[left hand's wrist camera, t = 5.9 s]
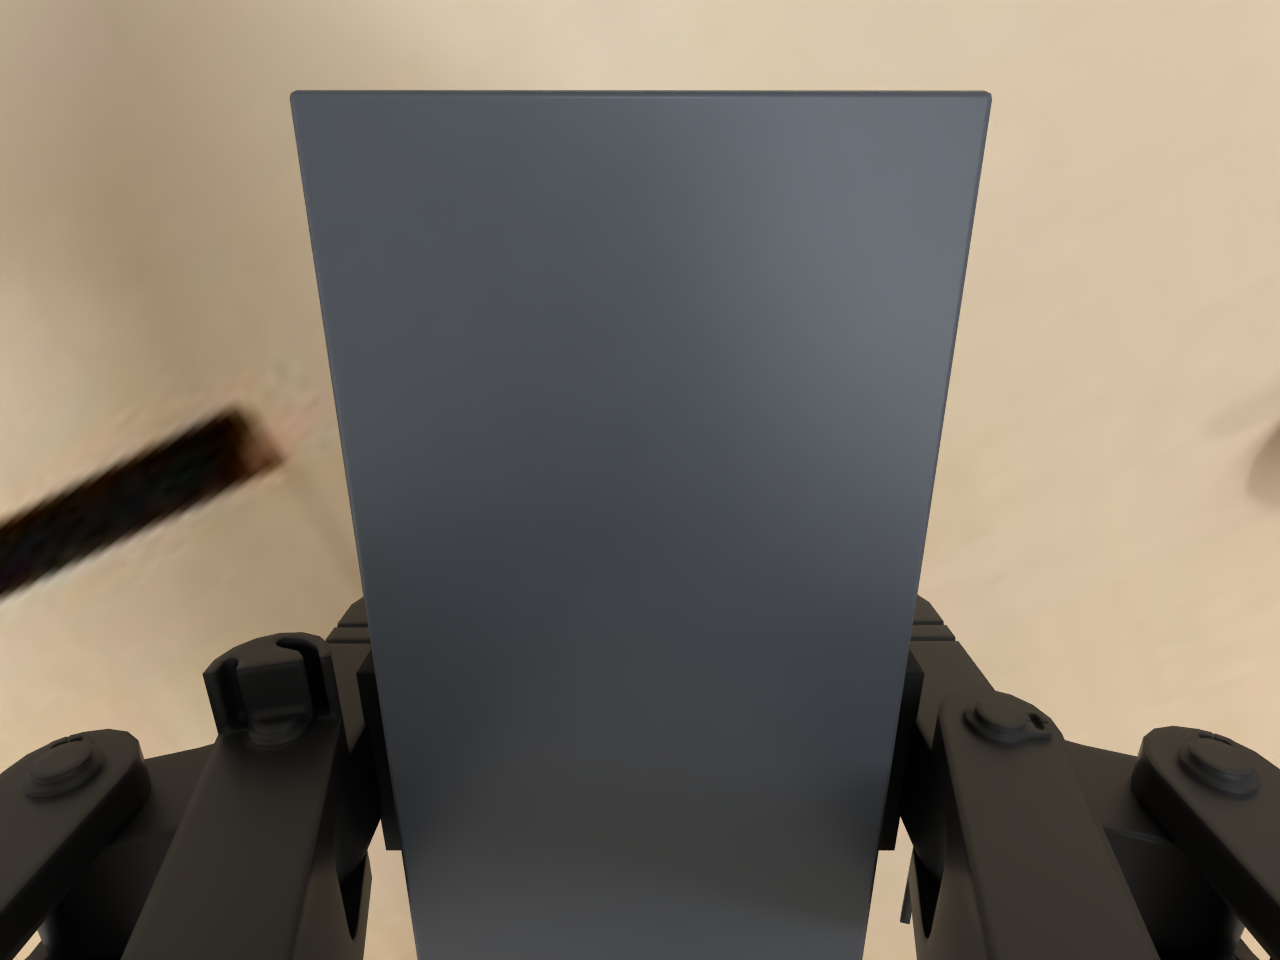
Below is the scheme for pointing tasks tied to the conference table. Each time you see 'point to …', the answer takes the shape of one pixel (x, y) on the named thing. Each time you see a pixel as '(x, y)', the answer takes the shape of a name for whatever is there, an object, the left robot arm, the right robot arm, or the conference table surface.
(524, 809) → the post
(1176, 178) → the conference table surface
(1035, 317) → the conference table surface
